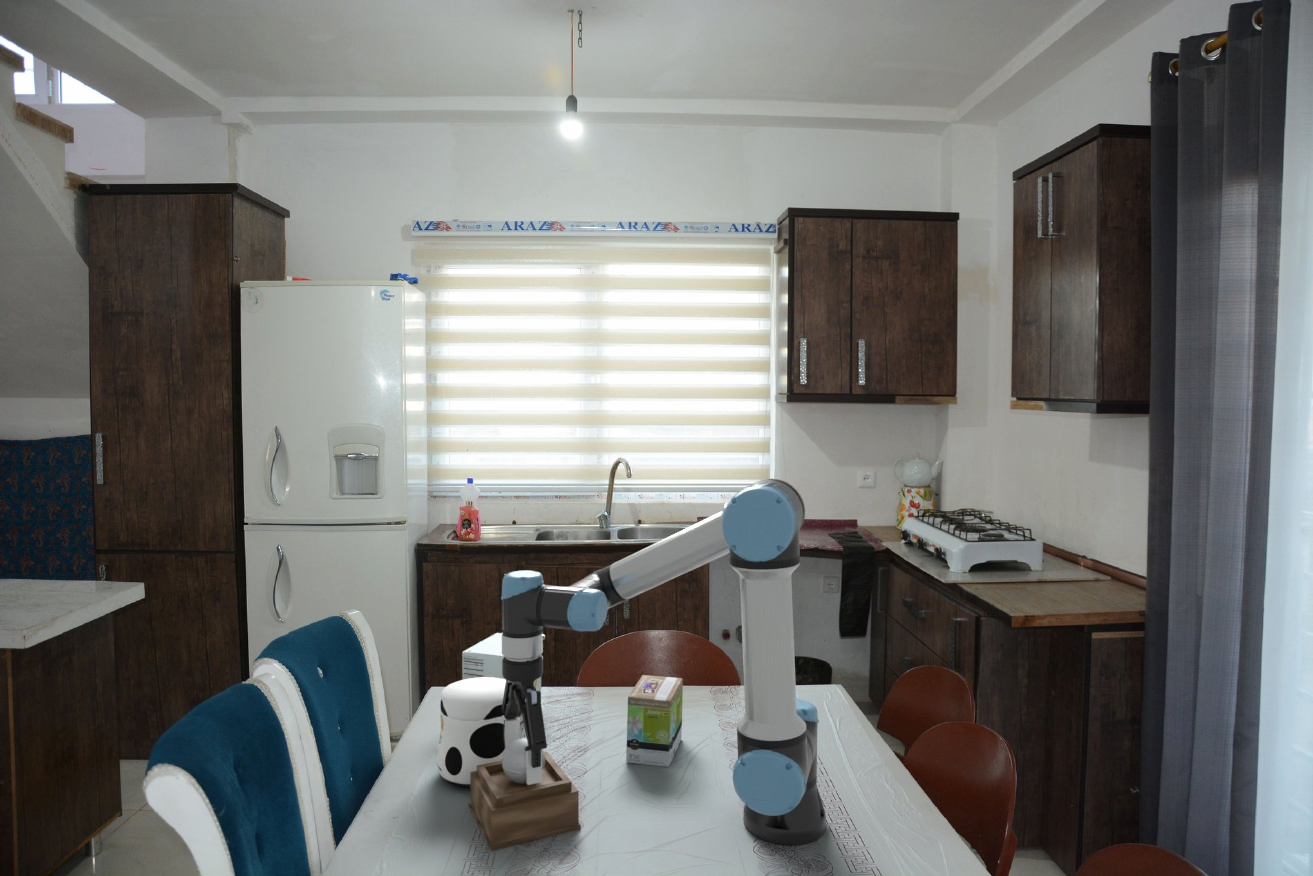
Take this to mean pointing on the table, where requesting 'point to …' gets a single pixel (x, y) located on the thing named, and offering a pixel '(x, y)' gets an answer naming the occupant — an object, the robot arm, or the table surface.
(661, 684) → the tea box
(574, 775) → the table surface
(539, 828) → the brown open square box
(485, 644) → the supplement box
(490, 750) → the milk container
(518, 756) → the bath bomb
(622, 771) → the table surface
